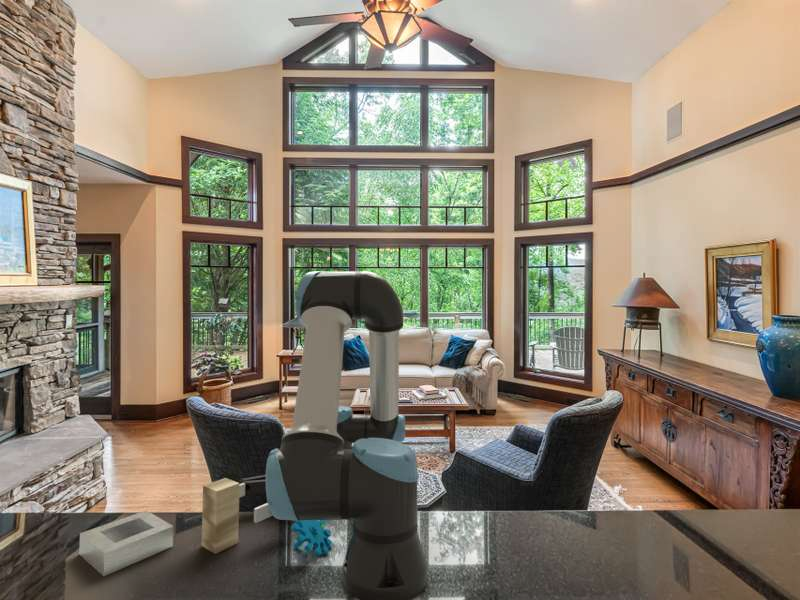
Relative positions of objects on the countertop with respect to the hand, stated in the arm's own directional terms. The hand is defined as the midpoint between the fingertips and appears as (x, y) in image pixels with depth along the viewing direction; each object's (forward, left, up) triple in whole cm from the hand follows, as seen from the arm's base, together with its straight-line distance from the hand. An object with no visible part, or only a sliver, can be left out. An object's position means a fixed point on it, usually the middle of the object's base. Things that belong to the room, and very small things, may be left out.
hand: (235, 507), depth 88 cm
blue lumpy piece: (-17, -6, -6) cm, 19 cm away
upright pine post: (-1, +4, -6) cm, 7 cm away
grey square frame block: (+12, +16, -6) cm, 21 cm away
